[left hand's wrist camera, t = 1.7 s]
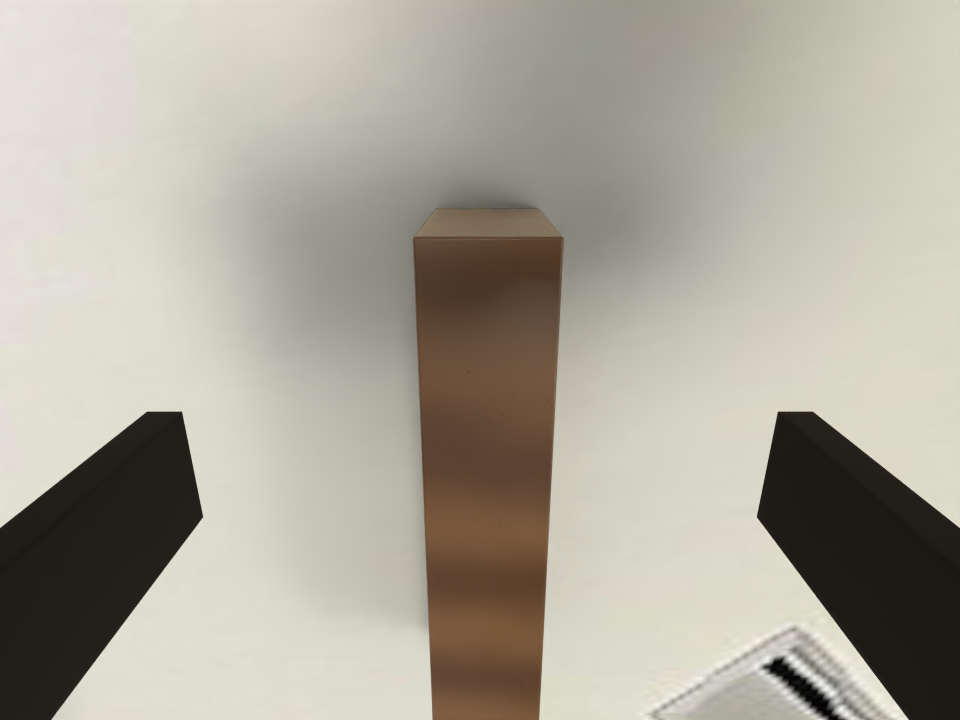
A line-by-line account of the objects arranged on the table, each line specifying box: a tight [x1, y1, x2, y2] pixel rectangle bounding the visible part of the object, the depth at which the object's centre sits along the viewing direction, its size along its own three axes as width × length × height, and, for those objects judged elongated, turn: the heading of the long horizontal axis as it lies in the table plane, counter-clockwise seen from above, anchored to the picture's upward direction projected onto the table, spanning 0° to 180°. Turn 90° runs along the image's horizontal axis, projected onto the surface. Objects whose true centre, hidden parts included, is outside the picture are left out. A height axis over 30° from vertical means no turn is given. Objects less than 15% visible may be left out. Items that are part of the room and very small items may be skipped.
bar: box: [413, 209, 564, 720], centre depth 28 cm, size 27×5×9 cm, turn 0°
